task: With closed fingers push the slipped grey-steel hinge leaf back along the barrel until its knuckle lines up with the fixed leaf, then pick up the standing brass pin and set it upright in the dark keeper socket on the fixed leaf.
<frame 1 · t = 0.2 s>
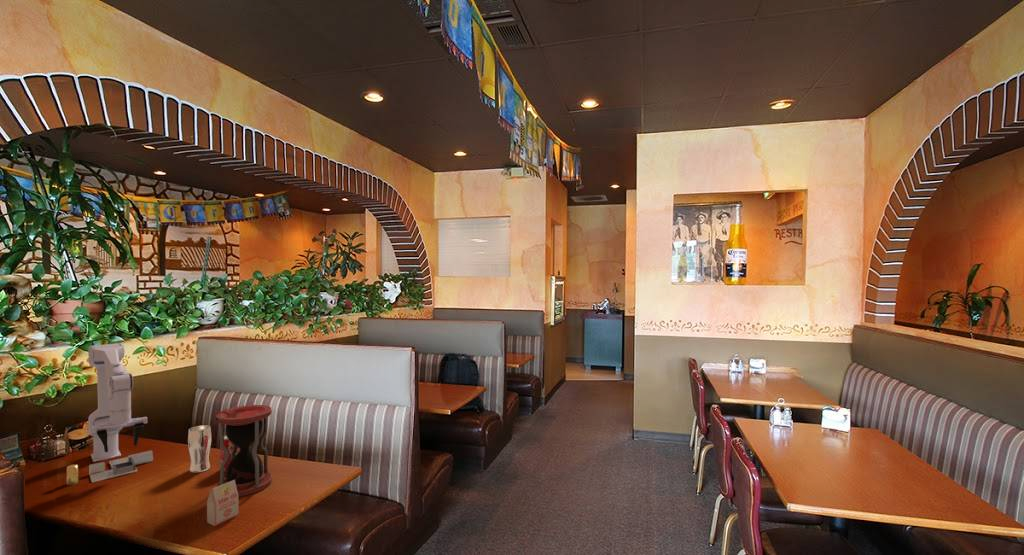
hand: (120, 448, 160), 10 cm above the table, fingers open, 7 cm apart
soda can: (231, 469, 167), on the table
white printed box: (223, 519, 133), on the table
hinge base: (112, 470, 165), on the table
beer glass: (200, 469, 166), on the table
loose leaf: (131, 457, 172), point 2 cm above the table, slide at 6.0 cm
brass pin: (72, 483, 155), on the table
hourglass: (244, 486, 153), on the table
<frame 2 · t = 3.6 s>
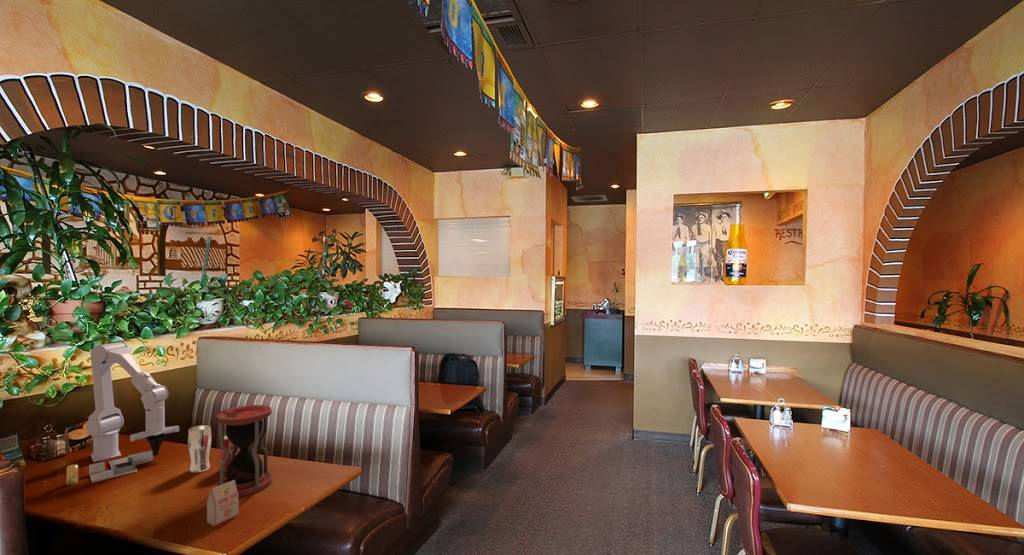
hand: (155, 454, 174), 2 cm above the table, fingers closed
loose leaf: (131, 457, 172), point 2 cm above the table, slide at 5.9 cm, touching gripper
everything else where it was.
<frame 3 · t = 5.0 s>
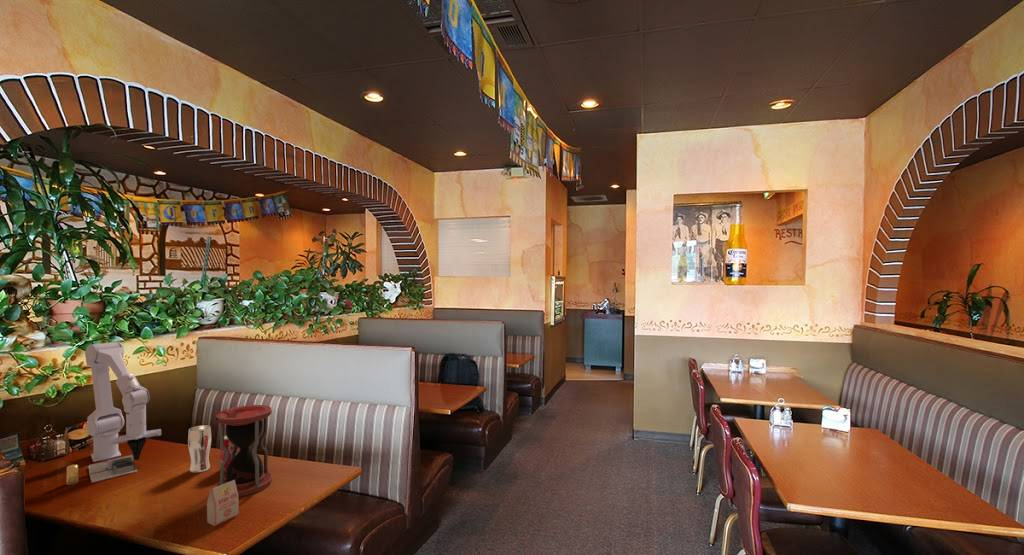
hand: (136, 459, 170), 2 cm above the table, fingers closed
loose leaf: (111, 461, 168), point 2 cm above the table, slide at 0.3 cm, touching gripper
everything else where it was.
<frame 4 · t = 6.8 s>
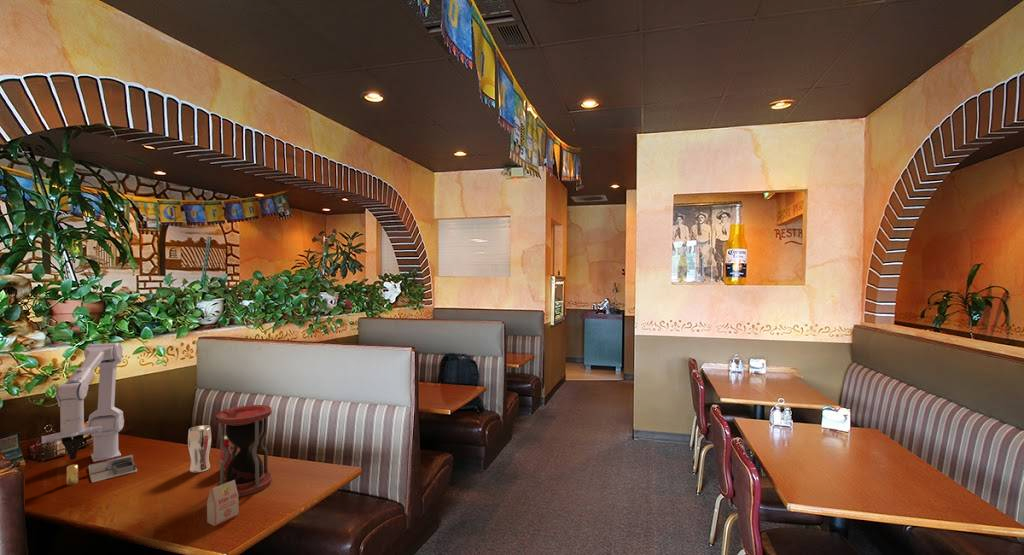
hand: (72, 458, 155), 8 cm above the table, fingers closed
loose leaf: (111, 461, 168), point 2 cm above the table, slide at 0.3 cm
everything else where it was.
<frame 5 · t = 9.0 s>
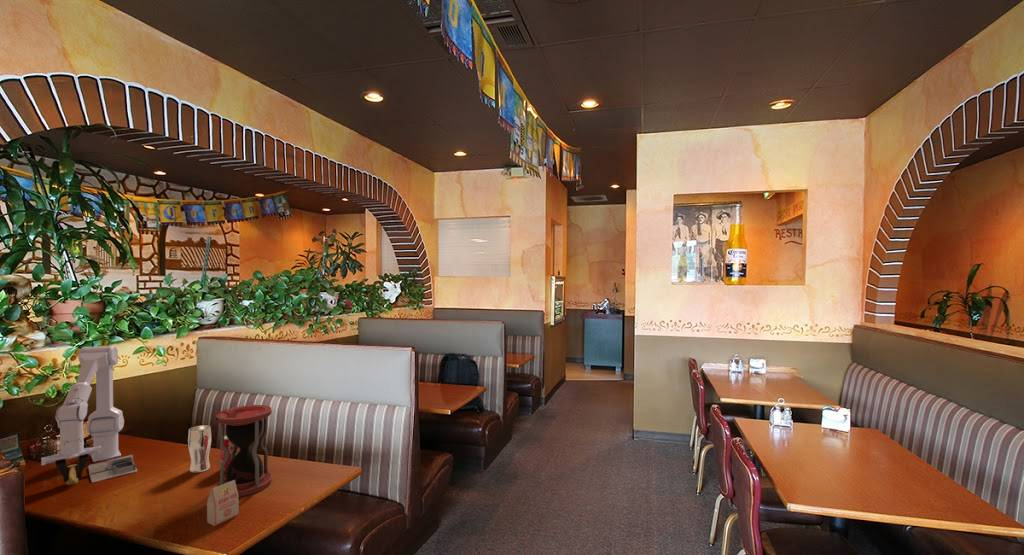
hand: (72, 479, 155), 1 cm above the table, fingers closed on brass pin, 3 cm apart
brass pin: (72, 483, 155), on the table, touching gripper
everything else where it was.
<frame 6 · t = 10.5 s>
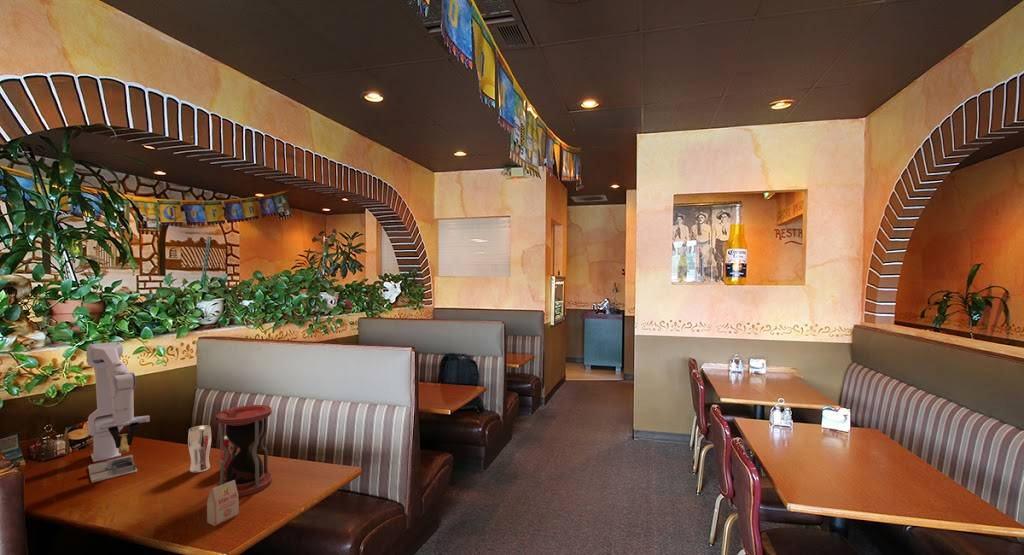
hand: (123, 446, 164), 9 cm above the table, fingers closed on brass pin, 3 cm apart
brass pin: (123, 451, 164), point 7 cm above the table, touching gripper
everything else where it was.
when the fingers open (3 cm above the table, at t = 12.0 s): brass pin stays where it is, resting on hinge base.
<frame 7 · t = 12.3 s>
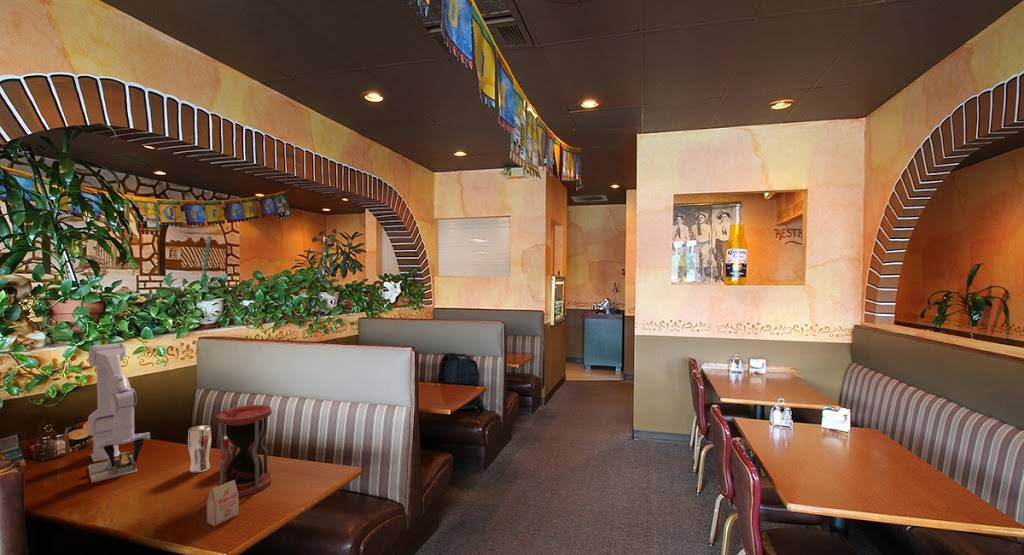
hand: (124, 463, 164), 3 cm above the table, fingers open, 5 cm apart
brass pin: (124, 470, 164), point 1 cm above the table, touching hinge base
everything else where it was.
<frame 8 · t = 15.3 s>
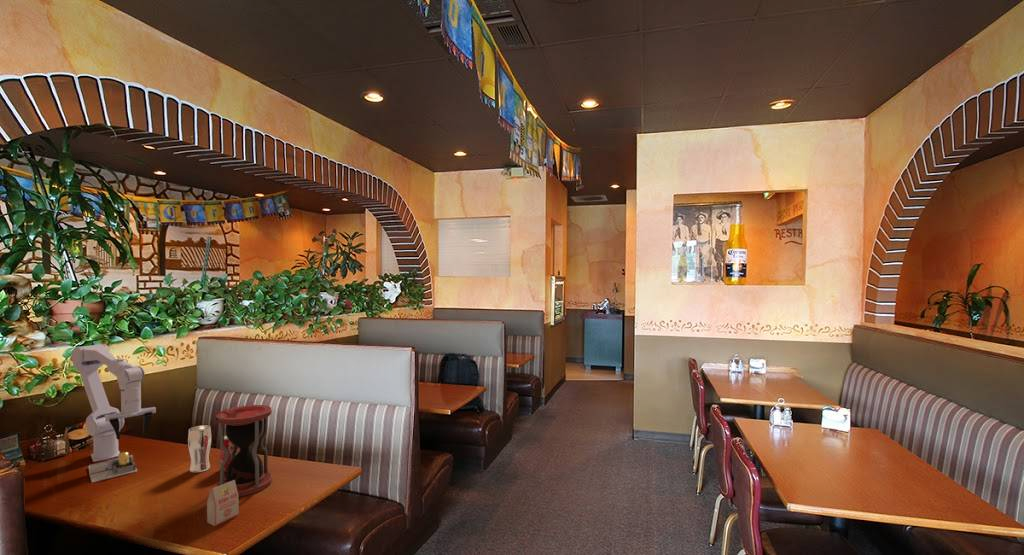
hand: (131, 435, 172), 10 cm above the table, fingers open, 7 cm apart
nothing on the table moved.
at the end: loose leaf slide at 0.3 cm; brass pin 0.1 cm from the target spot on the hinge base, point 0.8 cm above the hinge base's base; brass pin tilted 2° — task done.
